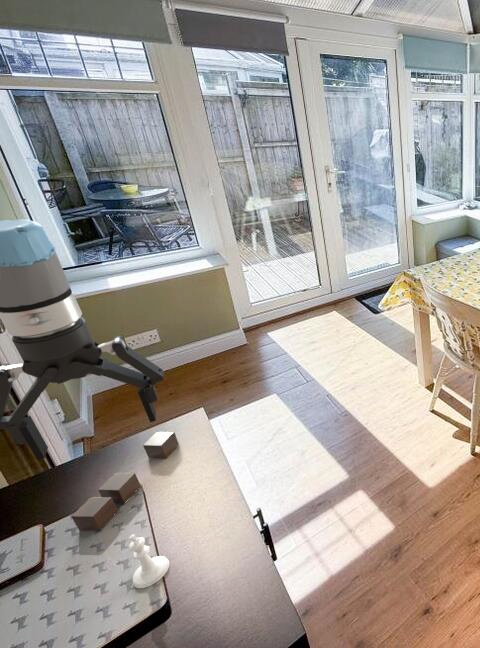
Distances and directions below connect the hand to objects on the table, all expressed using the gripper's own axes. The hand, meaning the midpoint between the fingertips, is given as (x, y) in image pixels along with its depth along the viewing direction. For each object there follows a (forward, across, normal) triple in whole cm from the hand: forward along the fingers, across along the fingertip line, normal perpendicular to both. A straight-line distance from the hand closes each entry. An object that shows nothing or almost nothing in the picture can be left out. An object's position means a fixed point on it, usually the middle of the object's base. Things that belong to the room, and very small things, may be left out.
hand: (101, 434), depth 69 cm
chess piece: (+24, +1, -10) cm, 26 cm away
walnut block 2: (+24, -4, +12) cm, 27 cm away
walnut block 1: (+24, -7, +7) cm, 26 cm away
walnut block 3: (+24, +3, +20) cm, 31 cm away
